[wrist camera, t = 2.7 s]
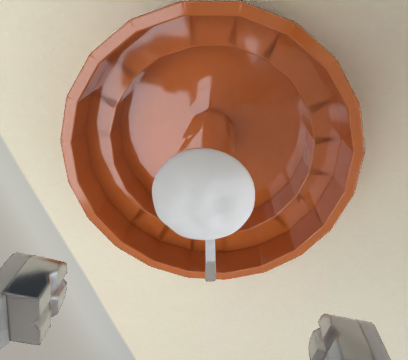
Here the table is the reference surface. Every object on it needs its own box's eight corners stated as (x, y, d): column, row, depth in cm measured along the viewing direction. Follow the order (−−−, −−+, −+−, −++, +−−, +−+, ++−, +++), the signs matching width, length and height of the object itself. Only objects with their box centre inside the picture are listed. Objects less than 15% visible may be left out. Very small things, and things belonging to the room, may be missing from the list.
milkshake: (184, 179, 24) (159, 284, 15) (170, 104, 21) (130, 177, 13) (249, 173, 23) (263, 278, 14) (243, 95, 21) (254, 164, 12)
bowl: (182, -71, 18) (168, -92, 14) (394, 117, 21) (432, 144, 17) (51, 157, 24) (16, 188, 20) (231, 269, 28) (231, 314, 24)
